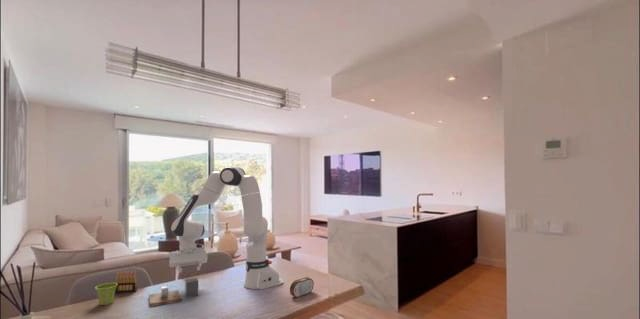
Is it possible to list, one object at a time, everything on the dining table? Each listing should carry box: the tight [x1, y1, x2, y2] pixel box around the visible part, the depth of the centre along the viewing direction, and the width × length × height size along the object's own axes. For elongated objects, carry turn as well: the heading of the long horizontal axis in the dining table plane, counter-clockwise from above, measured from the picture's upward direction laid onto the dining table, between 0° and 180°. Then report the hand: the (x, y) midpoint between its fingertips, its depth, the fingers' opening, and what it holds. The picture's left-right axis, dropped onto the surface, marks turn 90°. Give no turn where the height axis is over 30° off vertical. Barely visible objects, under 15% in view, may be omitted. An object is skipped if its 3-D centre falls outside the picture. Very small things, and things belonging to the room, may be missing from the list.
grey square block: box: [184, 277, 199, 298], centre depth 175 cm, size 6×6×8 cm
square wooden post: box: [160, 286, 169, 298], centre depth 168 cm, size 3×3×4 cm
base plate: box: [148, 289, 182, 308], centre depth 168 cm, size 14×14×2 cm
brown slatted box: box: [115, 269, 138, 294], centre depth 180 cm, size 11×2×12 cm, turn 99°
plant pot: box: [94, 282, 118, 306], centre depth 164 cm, size 9×9×9 cm
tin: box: [289, 276, 315, 298], centre depth 172 cm, size 15×3×8 cm, turn 134°
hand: (189, 271), depth 182 cm, fingers open, 8 cm apart
